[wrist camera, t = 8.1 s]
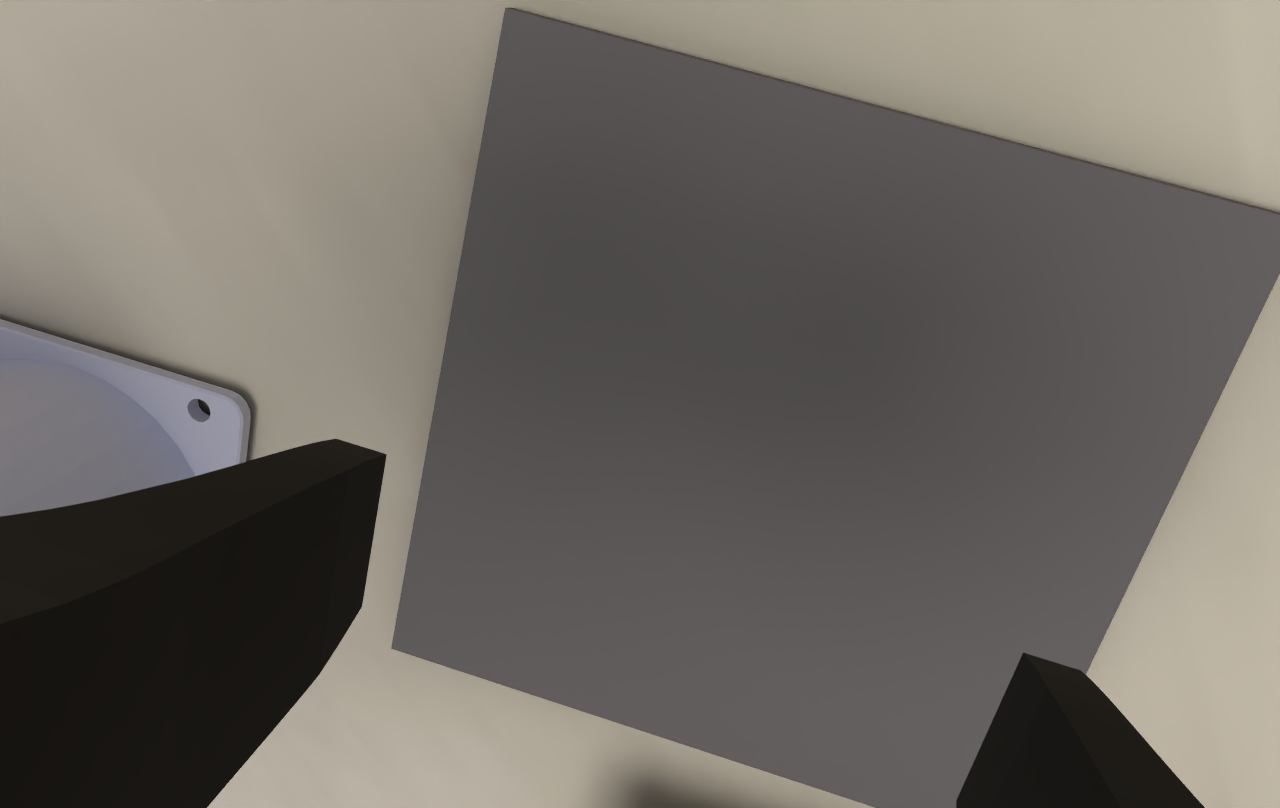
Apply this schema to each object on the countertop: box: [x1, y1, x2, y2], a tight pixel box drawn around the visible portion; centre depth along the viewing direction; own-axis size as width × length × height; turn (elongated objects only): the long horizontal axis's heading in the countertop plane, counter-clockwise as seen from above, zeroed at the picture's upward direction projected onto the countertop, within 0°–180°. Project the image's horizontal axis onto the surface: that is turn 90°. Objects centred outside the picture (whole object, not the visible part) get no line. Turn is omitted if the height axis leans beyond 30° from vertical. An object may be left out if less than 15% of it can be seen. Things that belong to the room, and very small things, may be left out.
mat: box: [392, 8, 1280, 808], centre depth 21 cm, size 14×14×1 cm
